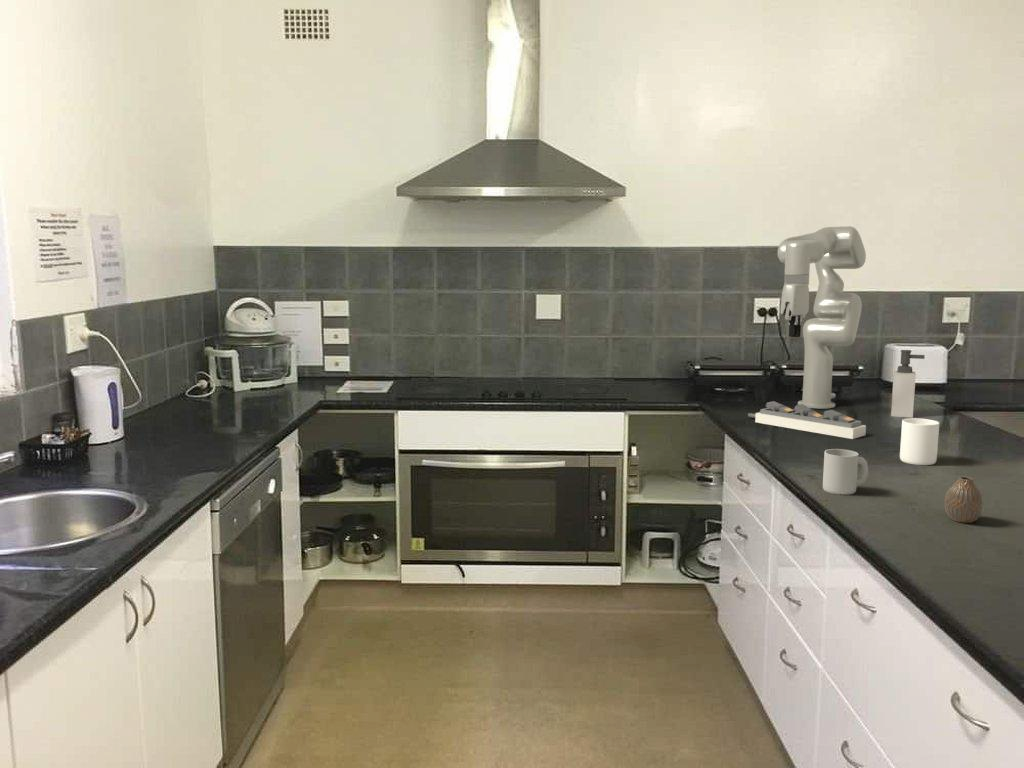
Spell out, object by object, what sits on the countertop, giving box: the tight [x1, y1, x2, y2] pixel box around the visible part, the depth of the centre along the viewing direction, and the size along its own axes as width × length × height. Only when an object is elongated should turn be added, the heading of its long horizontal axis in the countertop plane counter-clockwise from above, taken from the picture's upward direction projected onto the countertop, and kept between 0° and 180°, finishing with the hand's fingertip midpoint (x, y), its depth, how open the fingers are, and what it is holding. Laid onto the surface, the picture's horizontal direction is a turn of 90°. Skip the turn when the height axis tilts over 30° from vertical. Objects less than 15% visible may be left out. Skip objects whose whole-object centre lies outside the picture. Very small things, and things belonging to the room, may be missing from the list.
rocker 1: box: [765, 400, 796, 413], centre depth 256 cm, size 4×8×2 cm, turn 39°
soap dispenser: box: [890, 349, 926, 418], centre depth 266 cm, size 6×9×22 cm
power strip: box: [747, 407, 867, 440], centre depth 250 cm, size 8×38×4 cm, turn 39°
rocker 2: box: [793, 404, 824, 418], centre depth 248 cm, size 4×8×2 cm, turn 39°
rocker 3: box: [822, 409, 856, 423], centre depth 240 cm, size 4×8×2 cm, turn 39°
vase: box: [944, 476, 985, 524], centre depth 161 cm, size 7×7×9 cm
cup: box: [822, 448, 869, 496], centre depth 182 cm, size 7×10×9 cm
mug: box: [899, 417, 940, 466], centre depth 208 cm, size 9×12×11 cm
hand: (794, 336), depth 259 cm, fingers closed
